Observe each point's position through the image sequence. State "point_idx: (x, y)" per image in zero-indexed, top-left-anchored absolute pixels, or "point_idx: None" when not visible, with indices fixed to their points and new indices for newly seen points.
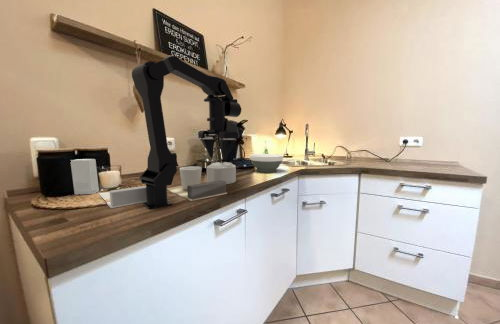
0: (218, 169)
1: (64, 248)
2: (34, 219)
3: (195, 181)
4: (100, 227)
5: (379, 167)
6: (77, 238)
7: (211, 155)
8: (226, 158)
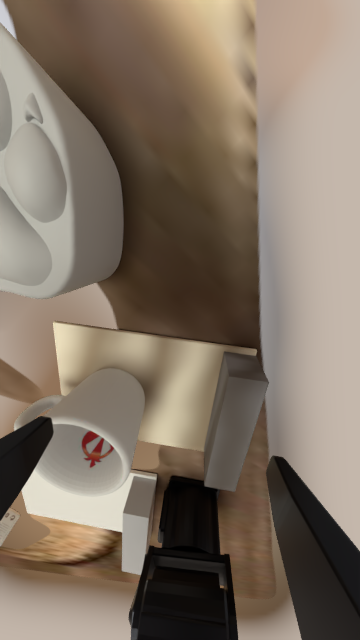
0: (70, 283)
1: (263, 592)
2: (130, 577)
3: (141, 420)
4: (230, 564)
5: None
6: (246, 581)
7: (42, 440)
8: (285, 461)
